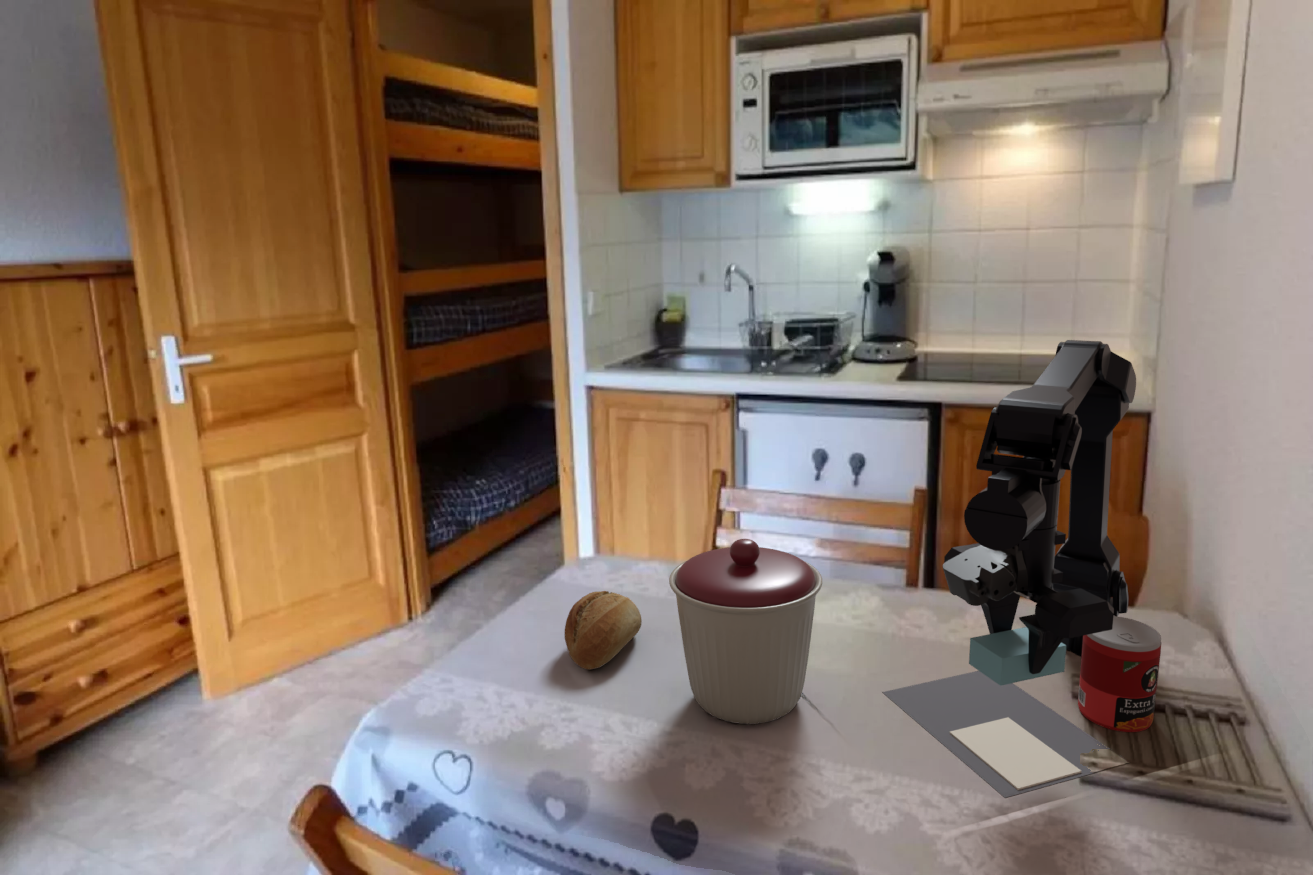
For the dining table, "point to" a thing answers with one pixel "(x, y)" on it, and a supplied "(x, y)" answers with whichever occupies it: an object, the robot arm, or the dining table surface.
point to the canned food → (1120, 675)
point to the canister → (746, 629)
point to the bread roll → (600, 628)
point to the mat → (998, 731)
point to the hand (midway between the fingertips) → (1016, 661)
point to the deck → (1010, 657)
